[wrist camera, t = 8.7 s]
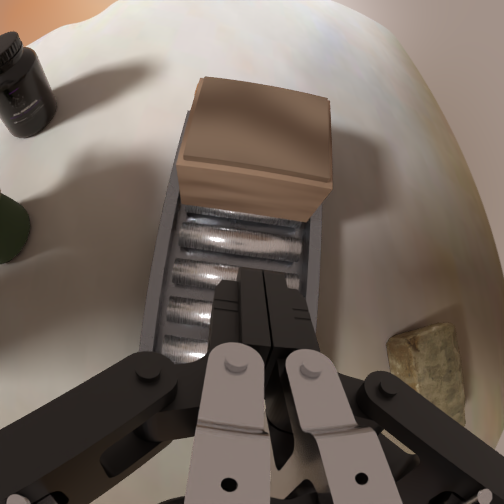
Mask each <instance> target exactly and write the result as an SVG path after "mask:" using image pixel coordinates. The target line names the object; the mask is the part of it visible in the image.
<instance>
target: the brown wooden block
mask: <svg viewBox="0 0 504 504" xmlns="http://www.w3.org/2000/svg"><path fill="white" fill-rule="evenodd" d="M176 168H177V175H178V183H179V190H180V197H181V203H182V204H184V205H191V206H199V207H206V208H214V209H221V210H228V211H235V212H242V213H248V214H255V215H262V216H268V217H275V218H281V219H288V220H294V221H300V222H307V221H308V220H309V218H310V217H311V216H312V215H313V213H314V212H315V211H316V210H317V208H318V207H319V206H320V205H321V203H322V202H323V201H324V200H325V198H326V197H327V196H328V195H329V193H330V192H331V191H332V190H333V182H332V137H331V113H330V101H329V100H328V98H325V97H321V96H316V95H312V94H308V93H303V92H299V91H294V90H289V89H284V88H279V87H274V86H268V85H263V84H257V83H251V82H244V81H237V80H230V79H222V78H214V77H204V78H200V80H199V84H198V87H197V90H196V93H195V97H194V100H193V104H192V107H191V110H190V114H189V118H188V121H187V125H186V128H185V132H184V136H183V140H182V143H181V147H180V151H179V155H178V159H177V163H176Z"/></svg>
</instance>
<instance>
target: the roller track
mask: <svg viewBox="0 0 504 504" xmlns="http://www.w3.org/2000/svg"><path fill="white" fill-rule="evenodd" d="M198 84H199V83H198ZM197 87H198V85H197ZM196 90H197V88H196ZM195 93H196V91H195ZM189 114H190V111H188V112H187V116H186V119H185V123H184V126H183V130H182V133H181V137H180V141H179V145H178V148H177V152H176V156H175V160H174V164H173V168H172V172H171V176H170V180H169V184H168V189H167V193H166V197H165V202H164V206H163V211H162V216H161V220H160V225H159V230H158V235H157V240H156V245H155V251H154V256H153V261H152V267H151V273H150V279H149V285H148V291H147V297H146V304H145V310H144V317H143V324H142V332H141V340H140V348H139V352H142V351H152V352H157V353H160V354H162V355H164V356H166V357H168V358H169V359H170V360H171V361H172V362H173V363H174V364H183V363H190V362H193V361H196V360H198V359H200V358H202V357H203V356H204V355H205V354H206V353H207V348H208V336H209V324H210V317H211V311H212V304H213V298H214V292H215V287H216V286H217V285H218V284H219V283H220V281H221V280H222V279H224V280H231V281H236V279H237V274H238V270H239V267H246V268H253V269H260V270H267V271H275V272H282V273H284V274H285V278H286V282H287V287H288V288H291V289H297V290H298V291H299V292H300V293H301V294H302V296H303V297H304V298H305V299H306V302H307V306H308V309H309V311H308V312H309V313H310V316H311V321H312V324H313V327H314V331H315V334H316V325H317V311H318V296H319V278H320V258H321V231H322V203H321V205H320V206H319V207H318V208H317V210H316V211H315V212H314V213H313V215H312V216H311V217H310V218H309V220H308V221H307V222H300V221H294V220H288V219H281V218H275V217H268V216H262V215H255V214H248V213H242V212H235V211H228V210H221V209H214V208H206V207H199V206H191V205H184V204H182V203H181V197H180V190H179V183H178V175H177V168H176V163H177V159H178V155H179V151H180V147H181V143H182V140H183V136H184V132H185V128H186V125H187V121H188V118H189Z"/></svg>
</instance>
